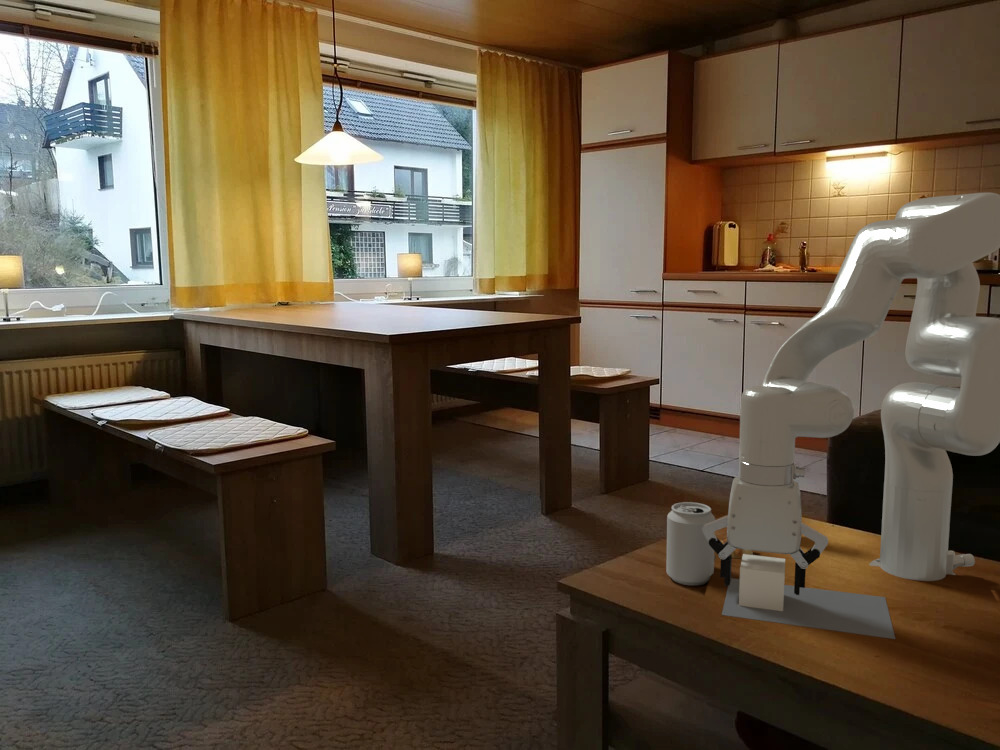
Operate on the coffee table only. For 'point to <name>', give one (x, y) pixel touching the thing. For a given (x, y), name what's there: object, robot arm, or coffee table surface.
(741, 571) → the cream foam cube
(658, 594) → the coffee table surface
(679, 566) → the can
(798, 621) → the board
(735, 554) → the pastry
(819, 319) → the robot arm
